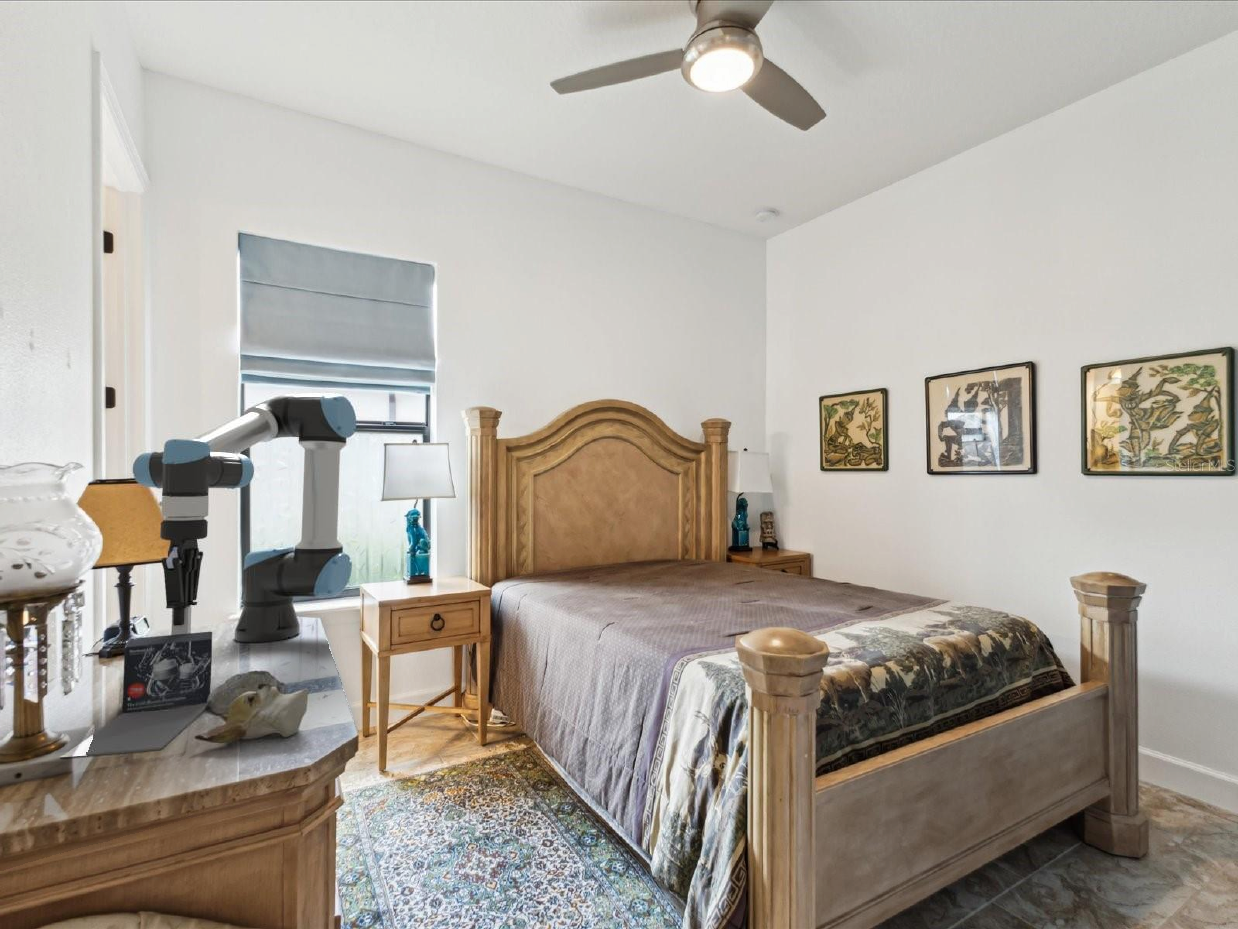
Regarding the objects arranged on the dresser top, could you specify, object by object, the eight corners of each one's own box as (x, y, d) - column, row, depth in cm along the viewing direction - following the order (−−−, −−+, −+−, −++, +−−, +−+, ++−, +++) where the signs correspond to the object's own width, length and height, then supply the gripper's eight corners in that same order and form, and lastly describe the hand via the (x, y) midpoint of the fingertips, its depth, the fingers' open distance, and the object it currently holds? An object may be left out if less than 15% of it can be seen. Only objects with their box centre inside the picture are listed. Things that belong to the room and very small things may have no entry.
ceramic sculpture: (297, 689, 98) (190, 700, 95) (299, 745, 97) (192, 758, 94) (317, 669, 108) (221, 679, 105) (319, 720, 108) (223, 732, 105)
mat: (122, 715, 110) (122, 713, 110) (206, 708, 113) (206, 707, 113) (60, 758, 92) (60, 756, 92) (161, 749, 96) (161, 747, 96)
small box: (120, 716, 109) (122, 647, 110) (125, 704, 115) (127, 638, 116) (210, 702, 117) (212, 637, 117) (210, 692, 122) (212, 630, 123)
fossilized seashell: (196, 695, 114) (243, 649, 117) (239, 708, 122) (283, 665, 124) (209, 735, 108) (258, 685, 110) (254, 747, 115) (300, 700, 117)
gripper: (177, 517, 127) (173, 634, 126) (146, 520, 115) (141, 650, 114) (218, 517, 129) (215, 632, 128) (193, 520, 117) (188, 648, 116)
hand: (180, 641), depth 121 cm, fingers closed
